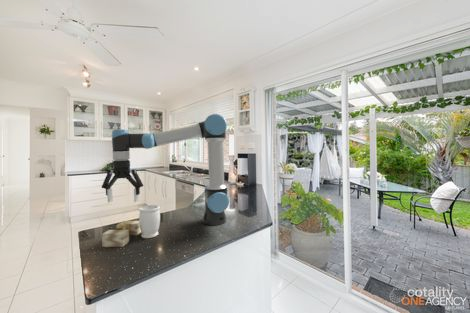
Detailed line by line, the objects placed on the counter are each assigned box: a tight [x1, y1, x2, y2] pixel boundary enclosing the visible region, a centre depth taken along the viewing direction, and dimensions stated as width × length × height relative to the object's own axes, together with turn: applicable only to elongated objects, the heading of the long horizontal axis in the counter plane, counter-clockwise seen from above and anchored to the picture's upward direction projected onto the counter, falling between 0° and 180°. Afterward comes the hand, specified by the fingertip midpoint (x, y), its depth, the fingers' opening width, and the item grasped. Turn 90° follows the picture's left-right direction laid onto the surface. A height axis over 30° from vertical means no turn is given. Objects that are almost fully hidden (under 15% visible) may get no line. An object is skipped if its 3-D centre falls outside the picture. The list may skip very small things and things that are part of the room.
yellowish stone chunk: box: [115, 220, 131, 238], centre depth 104 cm, size 4×6×8 cm, turn 179°
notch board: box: [101, 220, 142, 248], centre depth 104 cm, size 10×18×6 cm, turn 179°
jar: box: [138, 204, 161, 239], centre depth 108 cm, size 11×10×15 cm
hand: (123, 201), depth 104 cm, fingers open, 13 cm apart
